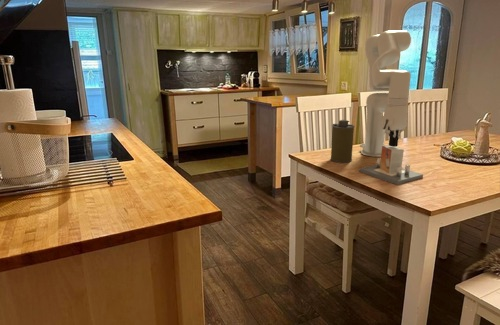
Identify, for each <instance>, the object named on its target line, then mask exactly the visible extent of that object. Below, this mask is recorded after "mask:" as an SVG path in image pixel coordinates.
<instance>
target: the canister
mask: <svg viewBox="0 0 500 325" xmlns="http://www.w3.org/2000/svg"><path fill="white" fill-rule="evenodd" d="M349 122H350V121H349V120H347V119H340V120H339V121H338V123H332V125H331V128H332V129H331V130H332V131H331V151H330V152H331V153H330V160H331V161H332V162H334V163H338V164H346V163H347V164H348V163H351V162H352V161H353V159H352V158H353V144H354V143H353V142H354V129H355V125H354V124H349Z"/></svg>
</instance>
